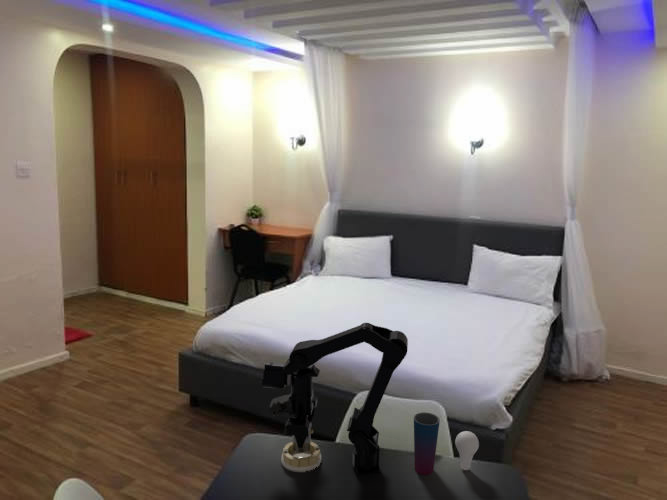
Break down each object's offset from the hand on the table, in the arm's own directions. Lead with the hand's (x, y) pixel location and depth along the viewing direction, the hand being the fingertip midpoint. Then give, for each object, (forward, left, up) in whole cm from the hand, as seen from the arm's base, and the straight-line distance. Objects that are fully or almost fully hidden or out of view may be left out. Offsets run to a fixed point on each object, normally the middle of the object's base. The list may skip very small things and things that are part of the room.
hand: (301, 442), depth 152 cm
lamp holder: (0, 0, -6) cm, 6 cm away
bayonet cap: (0, 0, -2) cm, 2 cm away
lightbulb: (-43, +12, -6) cm, 45 cm away
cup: (-32, +10, -6) cm, 34 cm away
